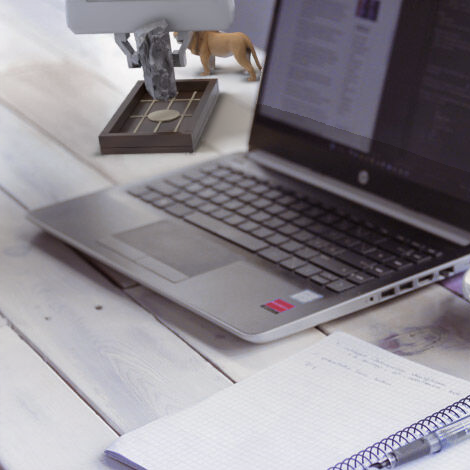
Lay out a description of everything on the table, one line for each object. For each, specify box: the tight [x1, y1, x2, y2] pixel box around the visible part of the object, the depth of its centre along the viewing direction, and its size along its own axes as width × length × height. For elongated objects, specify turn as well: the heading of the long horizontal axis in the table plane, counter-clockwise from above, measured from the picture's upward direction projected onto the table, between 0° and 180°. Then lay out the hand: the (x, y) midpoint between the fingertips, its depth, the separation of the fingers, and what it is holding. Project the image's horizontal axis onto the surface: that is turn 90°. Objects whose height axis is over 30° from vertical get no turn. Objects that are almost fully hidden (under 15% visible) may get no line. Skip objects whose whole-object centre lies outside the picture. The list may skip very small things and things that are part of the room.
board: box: [97, 77, 221, 156], centre depth 121 cm, size 11×21×3 cm, turn 179°
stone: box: [133, 19, 177, 102], centre depth 117 cm, size 15×5×10 cm, turn 9°
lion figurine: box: [172, 31, 263, 82], centre depth 137 cm, size 15×5×9 cm, turn 72°
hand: (158, 66), depth 118 cm, fingers closed on stone, 4 cm apart
